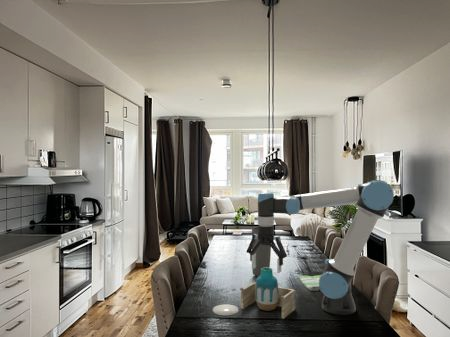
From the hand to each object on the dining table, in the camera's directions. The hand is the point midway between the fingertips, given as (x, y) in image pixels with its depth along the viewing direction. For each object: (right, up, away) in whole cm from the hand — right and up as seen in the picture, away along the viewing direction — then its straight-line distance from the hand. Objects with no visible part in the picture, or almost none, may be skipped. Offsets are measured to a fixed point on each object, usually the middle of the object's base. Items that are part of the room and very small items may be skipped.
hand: (266, 270), depth 164 cm
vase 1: (+3, -20, +54) cm, 57 cm away
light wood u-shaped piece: (+1, -18, 0) cm, 18 cm away
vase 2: (0, -19, 0) cm, 19 cm away
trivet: (-19, -19, -1) cm, 27 cm away
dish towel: (+34, -20, +37) cm, 54 cm away
